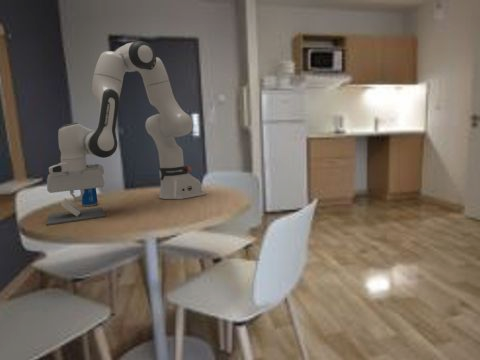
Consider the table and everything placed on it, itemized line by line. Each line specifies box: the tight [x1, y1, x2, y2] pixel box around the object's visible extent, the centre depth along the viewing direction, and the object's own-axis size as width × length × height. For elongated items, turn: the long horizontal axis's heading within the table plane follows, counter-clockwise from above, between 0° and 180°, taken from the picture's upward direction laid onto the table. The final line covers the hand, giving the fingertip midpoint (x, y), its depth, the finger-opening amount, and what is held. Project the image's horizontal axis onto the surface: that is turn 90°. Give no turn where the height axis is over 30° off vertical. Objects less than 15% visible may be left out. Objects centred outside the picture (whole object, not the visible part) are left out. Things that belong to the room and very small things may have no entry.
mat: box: [46, 206, 107, 226], centre depth 141 cm, size 20×18×1 cm
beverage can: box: [80, 188, 98, 207], centre depth 161 cm, size 6×6×12 cm
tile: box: [60, 198, 81, 217], centre depth 140 cm, size 2×8×7 cm
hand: (78, 201), depth 141 cm, fingers closed
